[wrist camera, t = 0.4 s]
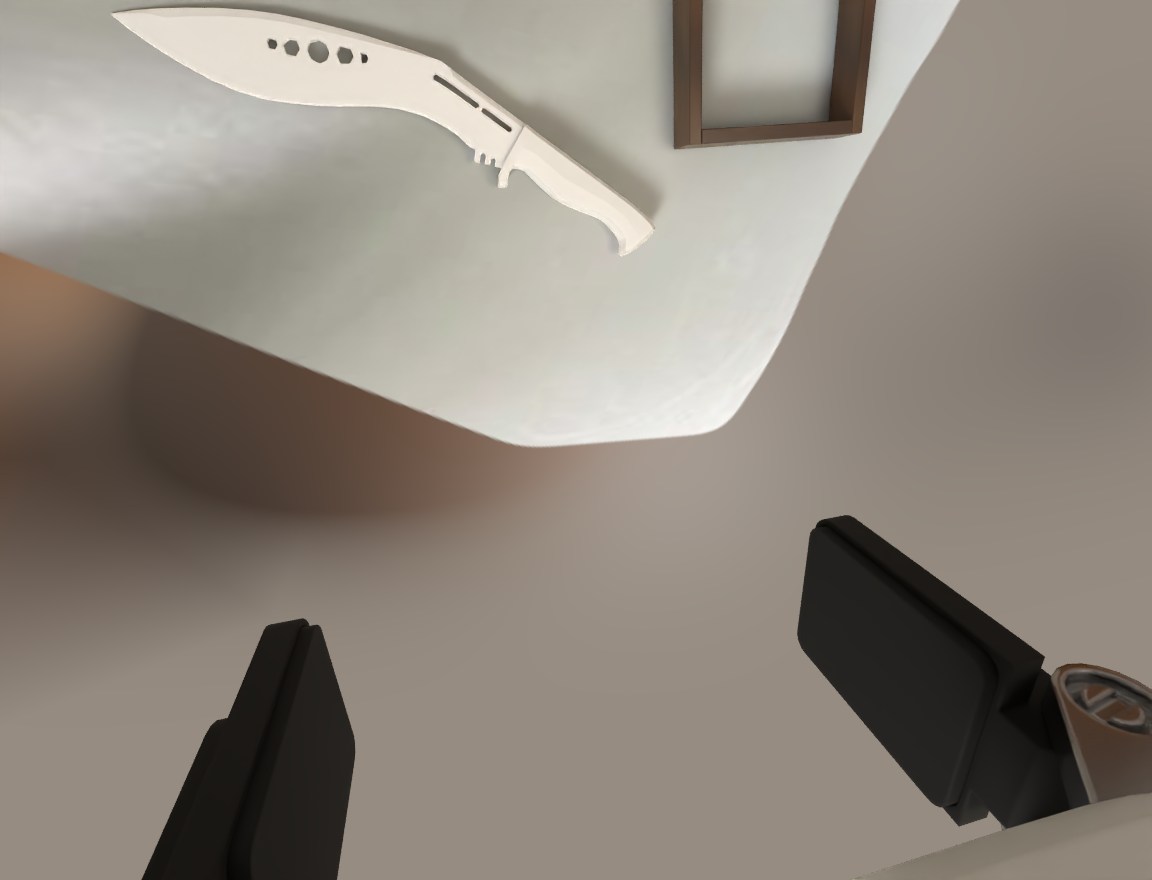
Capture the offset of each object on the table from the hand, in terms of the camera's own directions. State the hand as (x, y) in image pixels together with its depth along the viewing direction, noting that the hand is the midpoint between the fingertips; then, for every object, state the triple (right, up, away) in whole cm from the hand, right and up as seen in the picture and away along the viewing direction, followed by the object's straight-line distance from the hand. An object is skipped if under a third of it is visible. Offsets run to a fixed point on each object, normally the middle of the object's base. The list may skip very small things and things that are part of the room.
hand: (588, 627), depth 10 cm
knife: (-9, +22, +22) cm, 33 cm away
